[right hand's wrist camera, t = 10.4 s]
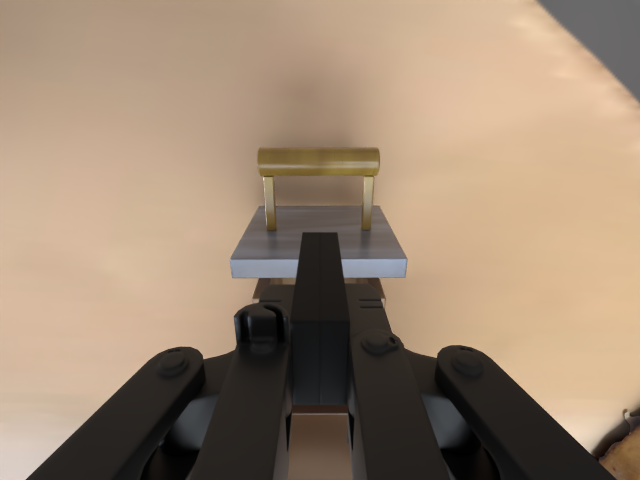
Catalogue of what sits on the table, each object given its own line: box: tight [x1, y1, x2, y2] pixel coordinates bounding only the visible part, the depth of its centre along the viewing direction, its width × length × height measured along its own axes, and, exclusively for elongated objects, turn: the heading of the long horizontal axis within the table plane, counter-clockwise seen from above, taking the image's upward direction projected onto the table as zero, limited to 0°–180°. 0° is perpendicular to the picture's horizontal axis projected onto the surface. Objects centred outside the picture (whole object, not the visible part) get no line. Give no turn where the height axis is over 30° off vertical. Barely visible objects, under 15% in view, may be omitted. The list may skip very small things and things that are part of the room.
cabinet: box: [288, 401, 352, 480], centre depth 31 cm, size 19×11×12 cm, turn 0°
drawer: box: [230, 148, 407, 401], centre depth 25 cm, size 23×10×10 cm, turn 0°
